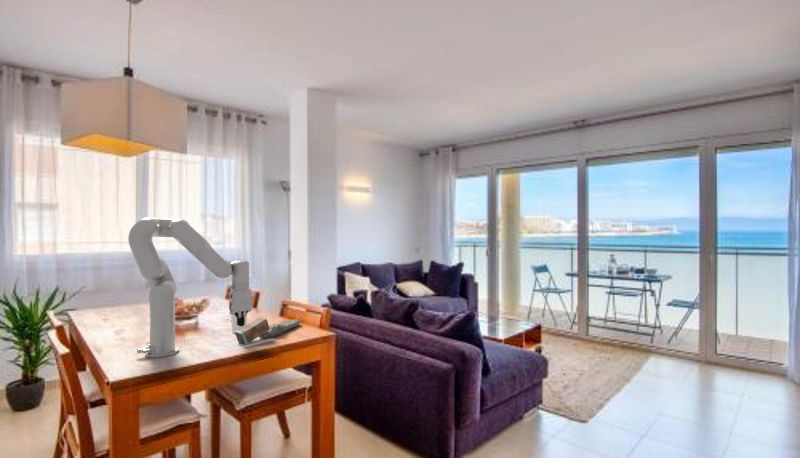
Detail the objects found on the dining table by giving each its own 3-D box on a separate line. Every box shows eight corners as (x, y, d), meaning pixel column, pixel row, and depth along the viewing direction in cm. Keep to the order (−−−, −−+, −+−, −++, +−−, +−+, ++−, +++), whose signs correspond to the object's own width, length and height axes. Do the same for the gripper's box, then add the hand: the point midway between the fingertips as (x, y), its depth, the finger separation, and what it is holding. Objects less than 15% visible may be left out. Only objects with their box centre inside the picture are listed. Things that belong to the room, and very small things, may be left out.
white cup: (237, 335, 209) (237, 315, 209) (227, 333, 214) (227, 314, 213) (250, 331, 216) (250, 313, 216) (240, 329, 220) (240, 311, 220)
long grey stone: (305, 326, 232) (289, 326, 235) (305, 317, 233) (289, 317, 235) (270, 339, 199) (252, 338, 201) (270, 328, 199) (252, 327, 202)
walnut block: (241, 333, 190) (266, 318, 200) (234, 331, 194) (259, 316, 204) (245, 345, 191) (270, 329, 202) (238, 342, 195) (262, 327, 206)
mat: (234, 350, 184) (234, 349, 184) (221, 345, 191) (221, 344, 191) (276, 340, 201) (276, 339, 201) (262, 335, 209) (262, 335, 209)
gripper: (229, 289, 184) (230, 330, 184) (259, 285, 196) (259, 323, 196) (221, 287, 189) (221, 327, 189) (250, 284, 201) (250, 321, 201)
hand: (240, 325), depth 193 cm, fingers closed
